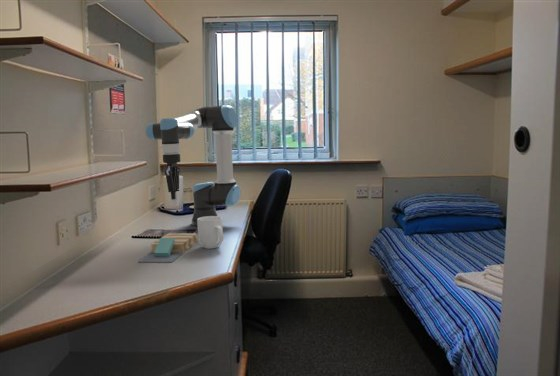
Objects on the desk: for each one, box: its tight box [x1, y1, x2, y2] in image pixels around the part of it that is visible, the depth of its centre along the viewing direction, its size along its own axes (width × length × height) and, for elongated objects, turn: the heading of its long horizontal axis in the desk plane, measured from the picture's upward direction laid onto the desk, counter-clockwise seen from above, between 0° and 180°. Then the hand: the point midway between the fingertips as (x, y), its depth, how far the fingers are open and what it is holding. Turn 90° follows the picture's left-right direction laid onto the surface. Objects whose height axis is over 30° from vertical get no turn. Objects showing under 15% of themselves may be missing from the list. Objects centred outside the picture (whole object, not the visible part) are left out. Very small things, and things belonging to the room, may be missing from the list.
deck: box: [150, 233, 198, 254], centre depth 205 cm, size 20×14×4 cm
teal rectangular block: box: [154, 237, 175, 256], centre depth 192 cm, size 9×6×2 cm
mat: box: [137, 251, 184, 264], centre depth 189 cm, size 14×14×1 cm
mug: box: [196, 215, 224, 250], centre depth 202 cm, size 15×11×13 cm
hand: (175, 206), depth 205 cm, fingers closed
